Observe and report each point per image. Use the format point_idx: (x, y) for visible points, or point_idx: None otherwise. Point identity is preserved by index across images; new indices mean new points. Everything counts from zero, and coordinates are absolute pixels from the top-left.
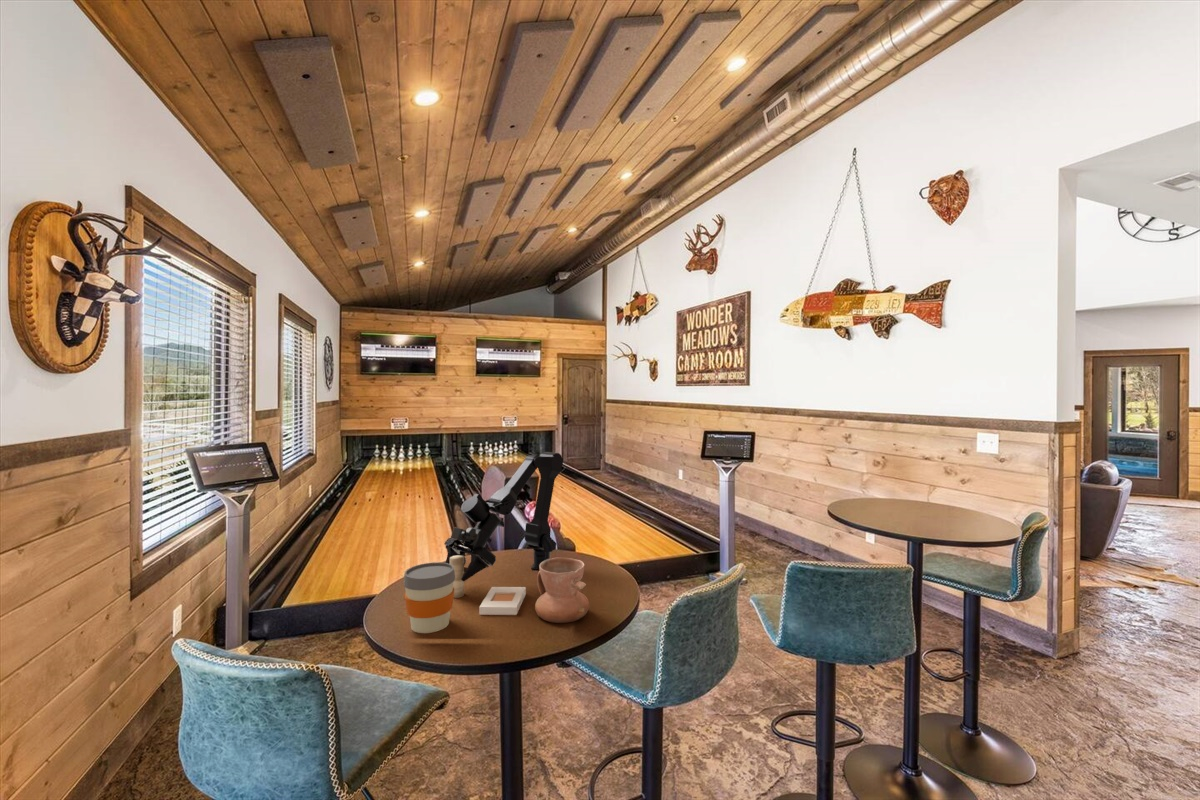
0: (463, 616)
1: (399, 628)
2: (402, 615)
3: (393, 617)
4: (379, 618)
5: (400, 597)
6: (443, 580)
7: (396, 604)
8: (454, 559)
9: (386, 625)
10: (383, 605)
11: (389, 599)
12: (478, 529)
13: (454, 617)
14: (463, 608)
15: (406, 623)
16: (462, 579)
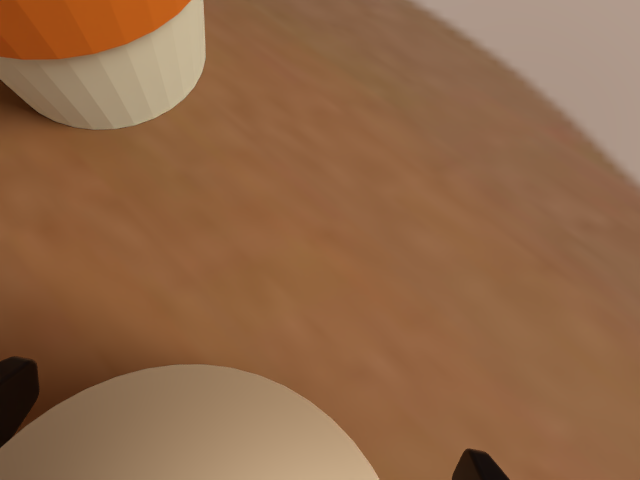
0: (3, 227)
1: (262, 9)
2: (371, 102)
3: (391, 72)
4: (439, 44)
5: (612, 265)
6: None
7: (529, 183)
8: (113, 421)
9: (344, 10)
10: (573, 146)
11: (631, 215)
12: None
13: (58, 193)
14: (79, 325)
15: (274, 51)
16: (10, 364)
